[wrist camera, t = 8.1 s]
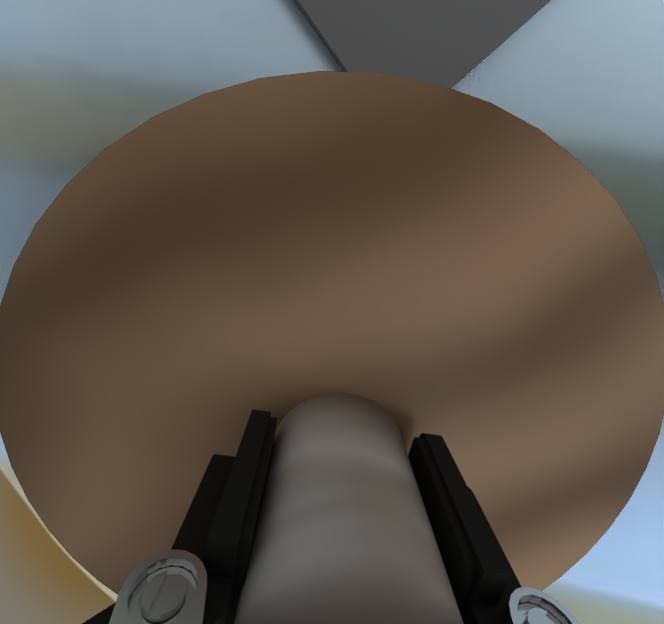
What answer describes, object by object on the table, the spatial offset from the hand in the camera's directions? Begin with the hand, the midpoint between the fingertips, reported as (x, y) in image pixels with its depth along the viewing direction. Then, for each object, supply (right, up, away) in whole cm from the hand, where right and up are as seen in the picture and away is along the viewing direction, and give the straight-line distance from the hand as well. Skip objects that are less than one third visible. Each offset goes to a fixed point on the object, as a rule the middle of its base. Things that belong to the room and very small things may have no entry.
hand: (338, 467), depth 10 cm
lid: (0, +1, +2) cm, 2 cm away
